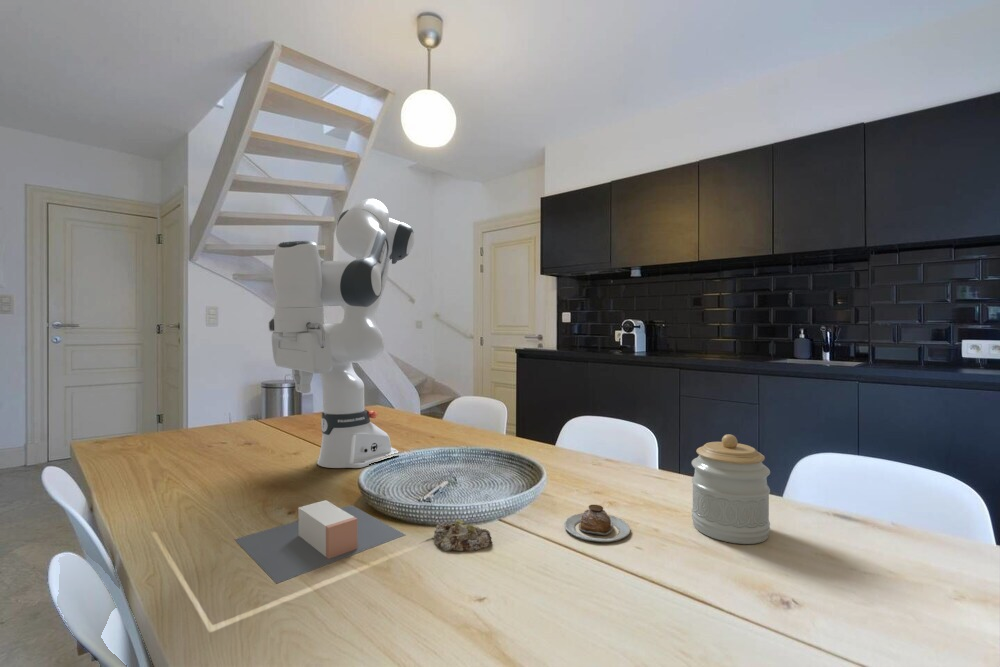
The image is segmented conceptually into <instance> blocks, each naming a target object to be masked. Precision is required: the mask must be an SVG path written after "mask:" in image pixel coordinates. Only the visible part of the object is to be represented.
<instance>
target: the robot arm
mask: <svg viewBox="0 0 1000 667" xmlns="http://www.w3.org/2000/svg"><path fill="white" fill-rule="evenodd" d="M414 233H415V232H414V230H413V227H412V226H410V225H408V224H407V223H405V222H402V221H401V222H400V221H398V220H395V219H393V218H391V217H390V213H389V210H388V208H387V207H386V205H385V204H384V203H383V202H381V201H380V200H377V199H375V198H366V199H363V200H360V201H359V202H358V203H356V204H354V205H353V206H352V207H351V208H349V209H347V210H344V212H342V213H340V215H339V217H338V220H337V222H336V229H335V236H336V241H337V242H338V245H339V246H340V247H341V249H342V250H343V251H344V252H345V253H346V254H348V255H349V256H351V257H352V258H355V259H349V260H347V259H346V260H345V259H344V260H325V259H324V258H322V257H321V256H320V251H319V246H318V245H317V243H316V242H315V241H312V240H294V241H291V240H290V241H283V242H280V243H278V244H277V245H276V246H275V250H274V254H273V263H272V264H273V265H272V283H273V288H274V292H275V296H276V298H275V303H274V315H273V317H272V318H271V319H270V320H269V321H268V331H269V332H271V347H272V357H273V362H274V364H275V365H276V366H277V367H279V368H285V369H288V370H291V375H292V379H293V381H294V384H295V385H294V386H295V392H298V393H301V394H309V393H310V392H311V390H312V389H311V383H312V379H313V376H314V374H319V378H320V379H321V385H322V386H321V387H322V403H323V404H322V405H323V406H322V407H323V408H322V412H321V422H320V425H321V433H322V435H321V436H322V438H321V444H320V451H319V457H318V459H317V465H318V466H320V467H323V468H327V469H346V468H348V469H349V468H351V469H361V468H364V467H367V466H370V465H369V464H371V463H372V462H374V461H376V460H378V459H380V458H383V457H385V456H388V455H391V454H394V453H398V452H399V450H397V449H396V448H394V447H392V442H391V439H390V436H389V434H388V433H387V432H386V431H384V430H383V429H381V428H380V427H378V426H377V425H376V424H374V423H373V422H372V421H371V419H376V418H377V417H378V412H376V411H375V410H367V409H365V384H364V381H363V379H361V377H359V376H358V374H357V373H356V372H355V369H354V365H353V363H354V364H355V363H357V364H358V363H360V364H362V363H366V362H371V361H374V360H376V359H378V358H379V357H380V356H381V354H382V353H383V351H384V348H385V338H384V335H383V334H384V333H383V332H382V331H381V329H380V328H379V326H378V324H377V323H378V322H377V313H378V308H379V305H380V301H381V299H382V296H383V292H384V289H385V287H386V283H387V280H388V275H389V269H390V260H391V264H392V265H395V264H396V263H398V261H401V260H403V259H405V258H406V257H408V256H409V254H410V252H411V251H412V249H413V247H414V243H415V235H414ZM324 307H341V308H342V309H343V312H344V314H343V319H342V321H341V322H339V323H337V322H336V323H333V322H332V323H325V321H324V320H325V318H324V316H325V315H324ZM371 465H372V464H371Z"/></svg>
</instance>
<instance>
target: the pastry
mask: <svg viewBox="0 0 1000 667" xmlns="http://www.w3.org/2000/svg"><path fill="white" fill-rule="evenodd" d="M577 525H578V529H579V531H582V532H583V533H587V534H591V535H597V536H607V535H609V534H611V533H612V531H613V529H614V527H616V529H617V530H618V534H617V535H614V536H612V537H608V538H595V537H590V536H586V535H584V534H581V533H580V532H578V531H577V529H576V527H577ZM564 528H565V530H566V531H567V532H568V533H570V535H571V536H573V537H575V538H578V539H581V540H583V541H588V542H589V541H592V542H597V543H599V542H601V543H610V542H617V541H620V540H621V541H622V540H623V539H625V538H626V537H627V536H630V535H629V534H630V533H631V527H630V525H629V524H628V522H626V521H625V520H623V519H622V518H619V517H616V516H614V515H611V514H608V513H607V511H606V510H605V509H604V507H603V506H602V505H599V504H589V505H588V509H585V510H584V511H583V512H581V513H577V514H573V515H571V516H569V517H567V518H566V519H565V521H564Z"/></svg>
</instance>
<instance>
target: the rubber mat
mask: <svg viewBox="0 0 1000 667" xmlns="http://www.w3.org/2000/svg"><path fill="white" fill-rule="evenodd" d="M339 508H340V509H342V510H343V511H345V512H347V513H349V514H350V515H352V516H354V517H355V518H357V540H358V548H357V549H354V550H352V551H349V552H346V553H344V554H341V555H338V556H335V557H333V558H330V559H328V558H327V557H325V556H324V555H323V554H322V553H320V552H319V551H318V550H317V549H315V548H314V547H313V546H311V545H310V544H309V543H308V542H306V541H305V540H304V539H303V538H301V537H300V536H299V523H298V520H296V521H292V522H289V523H285V524H282V525H278V526H275V527H272V528H268V529H263V530H262V531H258V532H255V533H254V532H253V533H251V534H248V535H244V536H241V537H238V538H234V541H235V542H236V543H237V544H238V545H239V546H240V547H241V548H242V549H243V550H244V552H245V553H246V554H247V555H249V557H250V558H251V559H252V560H253V561H254V562H255V563H256V564H257V565H258V566H259V567H260V568H261V569H262V570H263V571H264V572H265V574H266V575H267V576H269V578H270V579H271V580H272V581H273V582H274V583H275V584H280V583H282V582H285V581H288V580H290V579H294V578H296V577H298V576H302V575H303V574H307V573H309V572H311V571H314V570H317V569H319V568H321V567H325V566H328V565H330V564H333V563H335V562H338V561H341V560H344V559H346V558H349V557H352V556H354V555H357V554H359V553H362V552H364V551H367V550H370V549H373V548H375V547H378V546H380V545H383V544H386V543H389V542H391V541H394V540H396V539H398V538H402V537H404V536H406V533H404V532H402V531H399V530H398V529H396V528H394V527H392V526H390V525H389V524H387V523H385V522H384V521H382V520H379V519H378V518H376V517H374V516H373V515H370V514H368V513H367V512H365V511H363V510H362V509H360V508H359V507H356V506H354V505H353V504H350V505H346V506H343V507H339Z"/></svg>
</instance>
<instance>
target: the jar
mask: <svg viewBox="0 0 1000 667" xmlns="http://www.w3.org/2000/svg"><path fill="white" fill-rule="evenodd" d="M738 441H739V440H738V439H737V437H736V436H735V435H734V434H729V433H728V434H724V435H723V436H722V438H721V441H711V442H706V443H705V444H703V445H702V446H700V447H698V448H697V449H696V453H697V455H698V456H697V457H695V458H693V459H692V460H691V466H692V467H693V468H694V475H693V476H692V477H691V483H692V509H691V520H692V525H693V528H695V529H696V530H697V531H698V532H700V533H701V534H702V535H706V536H707V537H709V538H712V539H715V540H718V541H721V542H726V543H730V544H731V543H732V544H736V545H737V544H738V545H739V544H741V545H754V544H759V543H762V542H766V540H767V539H769V534H770V531H771V528H770V526H771V522H770V493H771V488H770V487H769V485H768V482H767V478H768V476H769V475H770V474H771V471H770V469H769V467H767V466H766V465H765V464H764V463H763V462H764V461H765V460H766V458H765V455H763V454H762V453H761V452H759V451H758V450H757V449H756V448H754V447H753V446H750V445H747V444H743V443H738Z"/></svg>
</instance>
